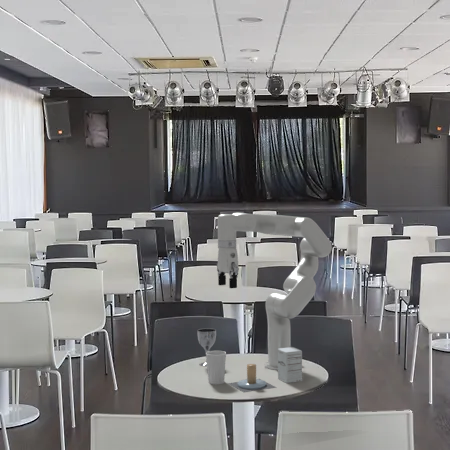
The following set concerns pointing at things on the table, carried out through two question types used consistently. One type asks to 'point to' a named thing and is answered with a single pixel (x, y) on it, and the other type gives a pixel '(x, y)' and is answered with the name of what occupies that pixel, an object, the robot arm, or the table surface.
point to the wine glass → (206, 339)
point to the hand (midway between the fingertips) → (227, 286)
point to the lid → (251, 379)
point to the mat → (251, 389)
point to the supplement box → (289, 364)
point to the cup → (216, 366)
